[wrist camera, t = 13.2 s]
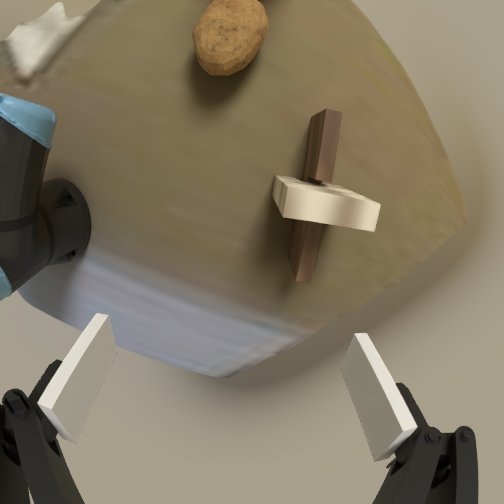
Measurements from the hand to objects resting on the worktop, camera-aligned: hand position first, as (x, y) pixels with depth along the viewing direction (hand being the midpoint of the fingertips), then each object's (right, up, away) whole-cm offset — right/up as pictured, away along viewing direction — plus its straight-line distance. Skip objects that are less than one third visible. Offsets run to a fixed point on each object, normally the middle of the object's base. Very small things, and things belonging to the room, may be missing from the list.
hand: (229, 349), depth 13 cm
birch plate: (+9, +14, +26) cm, 31 cm away
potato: (-2, +35, +18) cm, 40 cm away
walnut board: (+9, +14, +26) cm, 31 cm away
